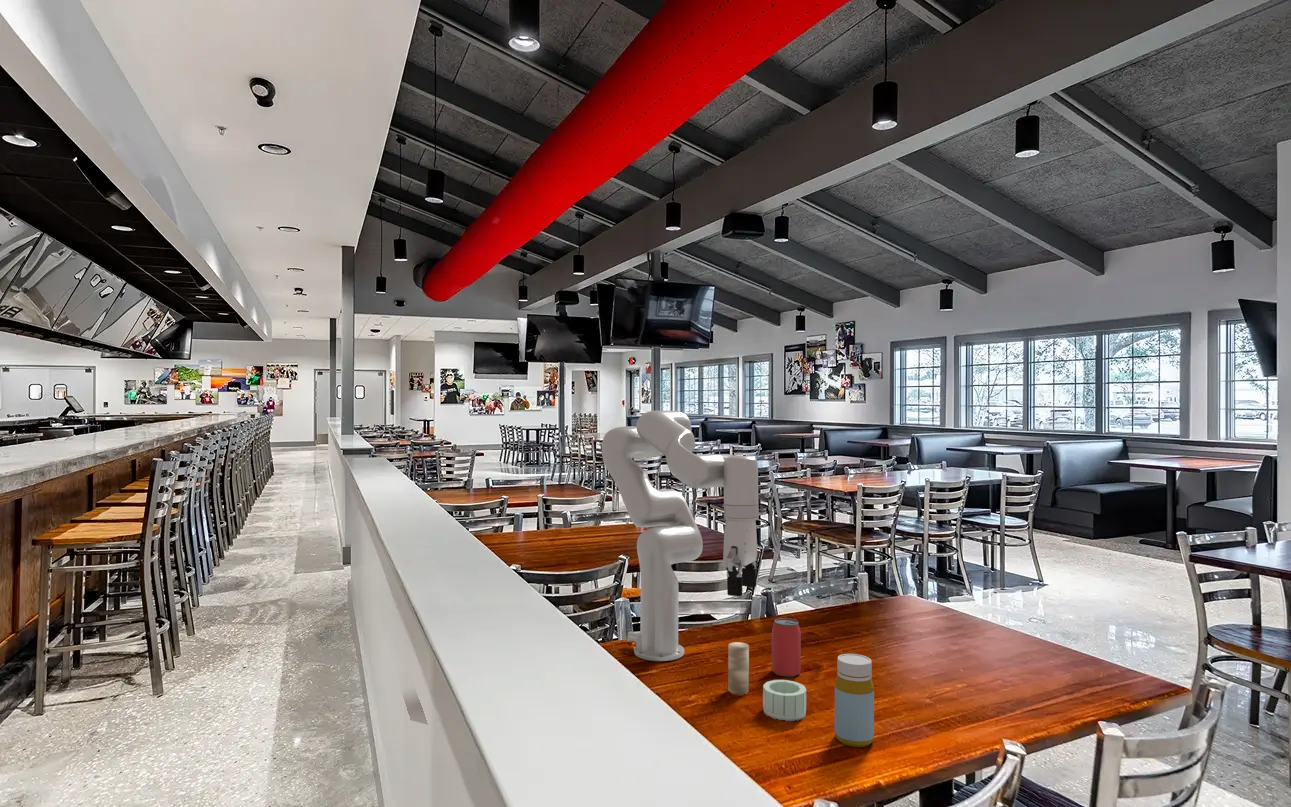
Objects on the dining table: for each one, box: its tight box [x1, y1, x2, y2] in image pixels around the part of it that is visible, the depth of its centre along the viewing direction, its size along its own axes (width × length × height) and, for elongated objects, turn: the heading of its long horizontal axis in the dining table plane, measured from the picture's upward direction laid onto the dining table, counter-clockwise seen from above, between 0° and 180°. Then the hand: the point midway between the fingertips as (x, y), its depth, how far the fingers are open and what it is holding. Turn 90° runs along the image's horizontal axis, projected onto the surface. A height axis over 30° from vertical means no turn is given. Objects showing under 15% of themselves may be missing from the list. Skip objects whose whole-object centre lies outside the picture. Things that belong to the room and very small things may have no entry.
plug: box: [727, 641, 750, 696], centre depth 159 cm, size 4×4×10 cm
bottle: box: [834, 653, 875, 748], centre depth 136 cm, size 7×7×15 cm
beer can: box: [771, 617, 802, 678], centre depth 170 cm, size 7×7×12 cm
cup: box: [762, 679, 807, 722], centre depth 148 cm, size 8×8×5 cm
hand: (742, 590), depth 160 cm, fingers open, 9 cm apart
